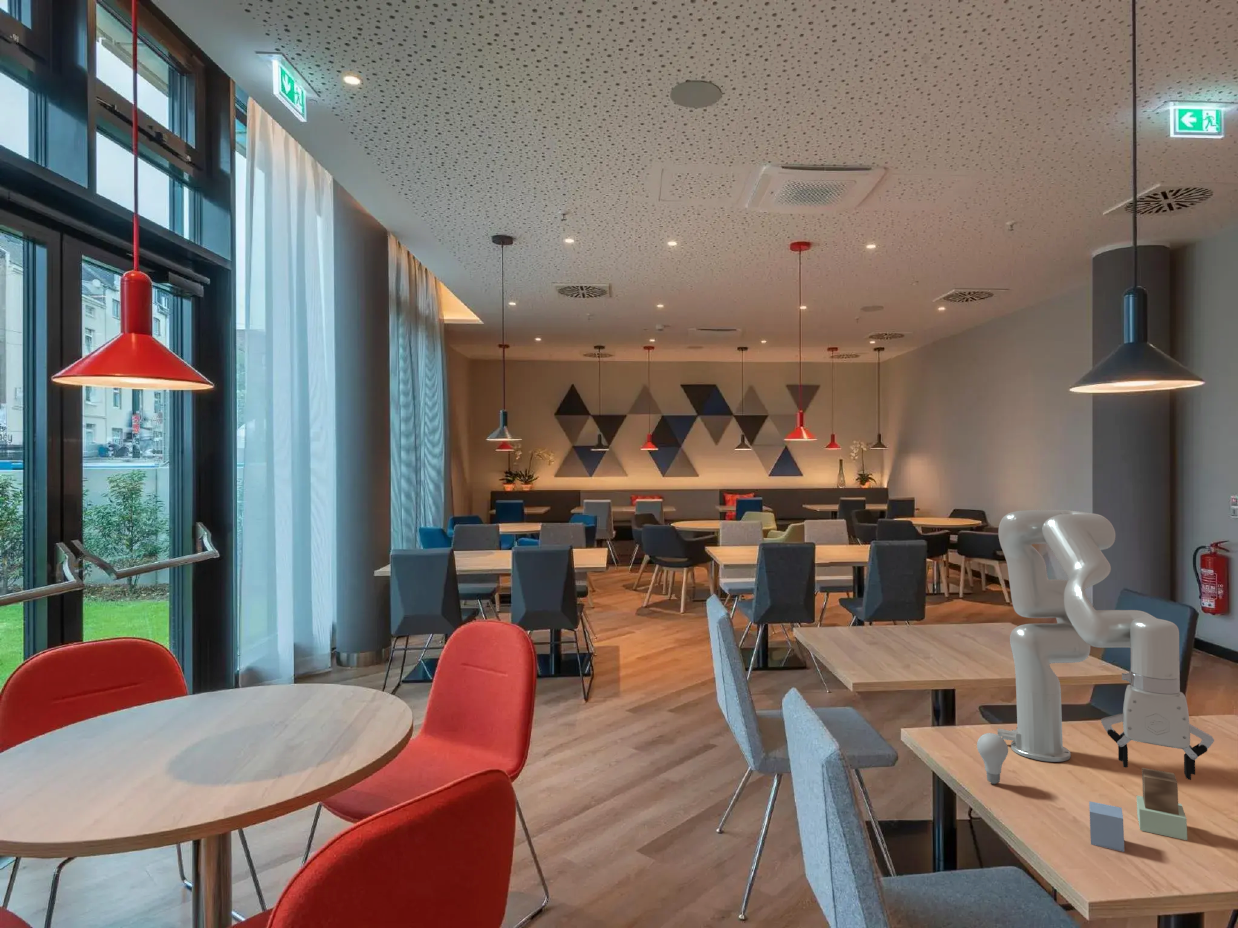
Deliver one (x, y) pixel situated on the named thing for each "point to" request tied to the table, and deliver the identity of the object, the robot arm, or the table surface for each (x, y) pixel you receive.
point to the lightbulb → (992, 755)
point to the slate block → (1106, 826)
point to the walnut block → (1160, 791)
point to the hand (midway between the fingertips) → (1155, 770)
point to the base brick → (1162, 821)
